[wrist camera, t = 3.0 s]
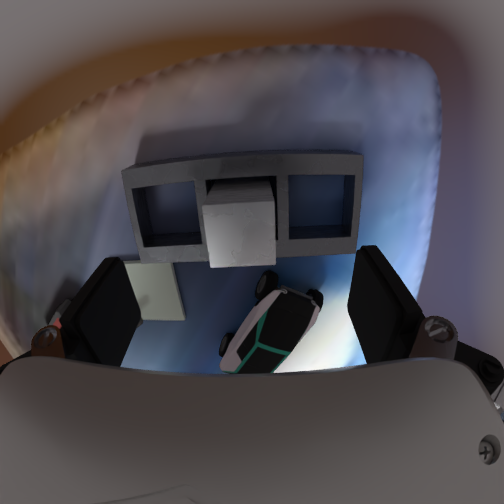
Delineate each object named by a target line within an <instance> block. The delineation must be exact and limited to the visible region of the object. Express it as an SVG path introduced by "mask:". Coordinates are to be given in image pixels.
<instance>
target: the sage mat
mask: <svg viewBox="0 0 504 504" xmlns="http://www.w3.org/2000/svg"><path fill="white" fill-rule="evenodd" d="M123 262H124V264H125V267H126V270H127V273H128V276H129V279H130V282H131V285H132V288H133V291H134V294H135V296H136V299H137V302H138V304H139V307H140V310H141V317H142V319H143V320H185V318H186V315H185V312H184V308H183V304H182V300H181V296H180V292H179V288H178V284H177V279H176V275H175V271H174V266H173V263H150V264H142V263H141V260H135V261H123Z"/></svg>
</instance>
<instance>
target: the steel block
mask: <svg viewBox="0 0 504 504" xmlns="http://www.w3.org/2000/svg"><path fill="white" fill-rule="evenodd" d="M202 211H203V218H204V226H205V233H206V240H207V247H208V254H209V261H210V268H217V267H239V266H260V265H276V243H275V204H274V198H273V194H272V190H271V186H270V182H269V178H268V176H252V177H236V178H222V179H216V181H215V183H214V185H213V186H212V188H211V190H210V192H209V194H208V195H207V197H206V199H205V201H204V203H203V204H202Z"/></svg>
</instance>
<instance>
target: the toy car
mask: <svg viewBox="0 0 504 504" xmlns="http://www.w3.org/2000/svg"><path fill="white" fill-rule="evenodd" d="M277 285H278V275H277V274H276V273H275V272H273V271H269V270H267V271H266V272H264V274H263V275H262V276H261V278H260V280H259V281H258V284H257V287H256V291H255V297H256V299H258V300H260V301H257V302H256V304H255V305H254V307H253V308H252V310H251V311H250V313H249V314H248V316H247V317H246V318H245V320H244V321H243V323H242V324H241V326H240V328H239V329H238V331H237V333H236V334H235V335H234V334H232V333H226V335H225V336H224V338H223V339H222V342H221V345H220V348H219V355H220V356H221V357H223V358H222V360H221V362H220V364H219V367H220V369H221V370H222V371H223V372H225V373H229V374H263V373H273V372H274V371H275V370H276V369H277V367H278V366H279V365H280V364H281V363H282V362H283V361H284V360H285V359H286V358H287V357H288V355H289V354H290V353H291V352H292V351H293V349H294V348H295V346H296V345H297V344H298V342H299V341H300V340H301V339H302V338H303V336H304V335H305V334H306V333H307V332H308V331H309V329H310V328H311V327H312V326H313V325H314V323H315V322H316V319H317V317H318V314H319V312H320V310H321V308H322V305H323V294H322V293H321V292H319V291H318V290H315V289H310V290H309V291H308V292H307V293H306V294H304V293H302V292H299V291H297V290H294V289H291V288H289V287H286V286H284V285H281V287H280V288H279V287H277ZM266 345H267V346H266ZM239 357H240V358H239ZM243 359H244V360H243Z"/></svg>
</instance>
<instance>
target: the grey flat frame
mask: <svg viewBox="0 0 504 504" xmlns="http://www.w3.org/2000/svg"><path fill="white" fill-rule="evenodd" d="M363 157H364V155H362V154H359V153H357V152H354V151H348V150H267V151H247V152H232V153H220V154H209V155H199V156H190V157H182V158H174V159H167V160H160V161H153V162H147V163H141V164H135V165H132V166H130V167H128V168H126V169H124V170H122V171H121V172H122V178H123V184H124V189H125V195H126V200H127V205H128V209H129V214H130V219H131V223H132V227H133V232H134V236H135V240H136V244H137V248H138V252H139V256H140V259H141V263H142V264H150V263H174V262H196V261H209V254H208V247H207V240H206V233H205V226H204V218H203V211H202V204H203V203H204V201H205V199H206V197H207V195H208V194H209V192H210V190H211V188H212V185H211V179H222V178H236V177H252V176H274V185H275V218H276V227H275V243H276V258H279V257H299V256H318V255H336V254H354V253H356V246H357V238H358V229H359V219H360V208H361V195H362V180H363ZM288 175H345V178H344V199H343V215H342V225H325V226H298V227H289V200H288ZM188 181H194V184H195V193H196V200H197V208H198V215H199V223H200V230H201V232H187V233H173V234H159V235H153V231H152V226H151V221H150V216H149V211H148V206H147V201H146V195H145V190H144V187H146V186H154V185H162V184H170V183H179V182H188Z"/></svg>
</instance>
